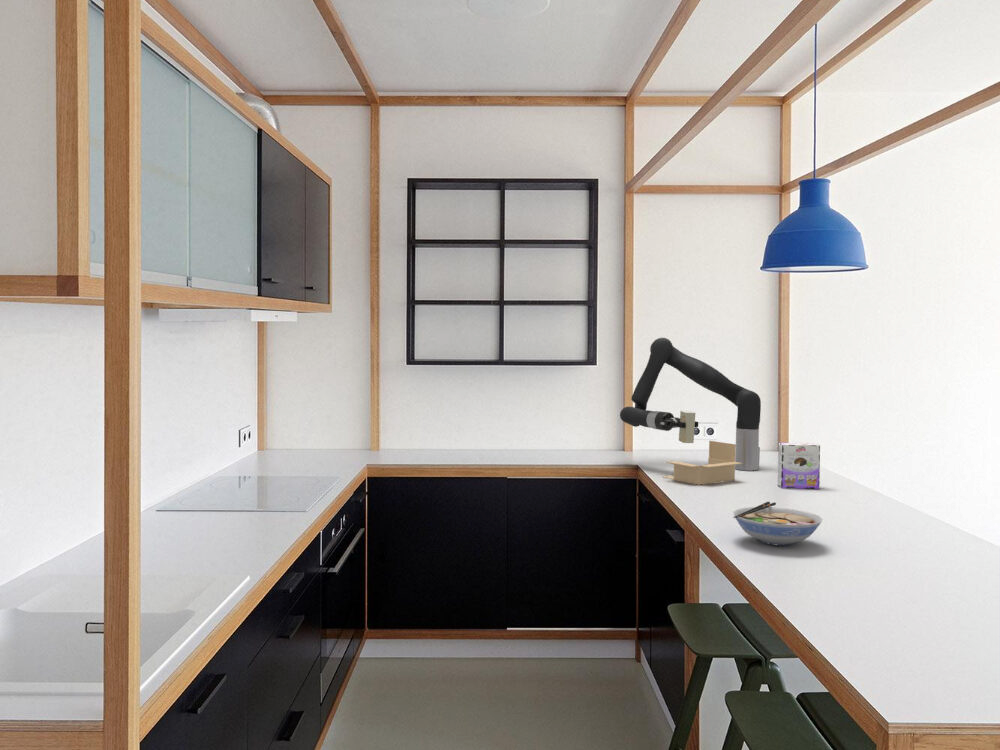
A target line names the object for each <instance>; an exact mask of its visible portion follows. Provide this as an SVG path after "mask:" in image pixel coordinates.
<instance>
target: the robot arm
mask: <svg viewBox="0 0 1000 750" xmlns="http://www.w3.org/2000/svg"><path fill="white" fill-rule="evenodd" d="M649 350H650V351H649V352H650V355H649V358H648V361H647V363H646V367H645V368H644V371H643V373H642V374H641V376H640V378H639V380H638V382H637V384H636V386H635V388H634V390H633V393H632V395H631V398H630V399H631V401H632V403H634V406H625V407H624V408H622V409H621V411H620V413H619V418H620V419H621V421H622V422H623V423H625V424H628V425H630V426H633V427H635V428H636V427H640V426H641V427H644V428H649V429H654V430H658V431H665V432H670V431H671V430H672V429H678V428H679V429H680V428H686V423H685V422H680V417H677V416H676V417H675V416H674V414H673V413H671V412H667V411H660V410H655V411H654V410H648V409H647V408H648V407H647V405H648V402H649V399H650V397H651V395H652V393H653V390H654V389H655V385H656V383H657V380H658V377H659V375H660V373H661V371H662V369H663V367H664V365H665V364H667V365H668V366H670V367H673V368H674V369H676V370H677V371H679V372H680V373H681V374H682V375H684V376H686V377H687V378H688V379H690V380H691V381H693V382H694V383H696V384H697V385H699V386H700V387H702V388H704V389H706V390H708V391H711V392H712V393H715V394H717V395H719V396H721V397H723V398H725V399H726V400H728V401H729V402H731V403H732V404H734V406H736V407H737V412H736V413H737V417H736V423H735V426H736V427H735V444H736V448H735V462H739V463H742V464H737V465H735V470H738V471H752V472H753V470H754V471H758V470H760V458H761V455H760V453H761V450H760V449H761V447H760V446H759V445H760V444H759V443H760V442H759V441H760V439H759V438H760V423H761V410H762V408H761V407H762V405H761V404H762V401H761V397H760V395H759V394H758V393H756V392H755V391H753V390H750V389H747V388H745V387H743V386H741V385H738V384H737V383H735V382H733V381H732V380H730V379H729V377H727V376H726V375H724V374H723V373H722V372H721V371H719V370H718V369H716V368H715V367H713V366H711V365H710V364H708V363H706V362H705V361H702V360H700V359H698V358H695V357H693V356H690V355H688V354H686V353H683V352H682V351H680V349H677V348H676V347H675V346H674V345H673V343H672V341H671V340H670V339H668V338H666V337H659V338H657V339H655V340H654V341H653V342H652V343H651V344H650V348H649ZM698 427H699V421H696V420H695V428H698Z"/></svg>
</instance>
